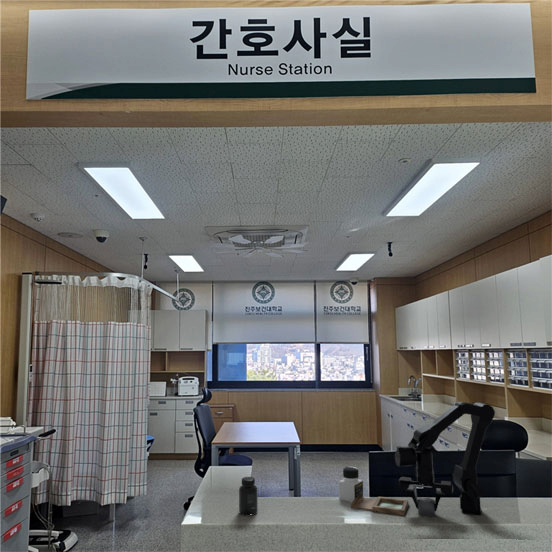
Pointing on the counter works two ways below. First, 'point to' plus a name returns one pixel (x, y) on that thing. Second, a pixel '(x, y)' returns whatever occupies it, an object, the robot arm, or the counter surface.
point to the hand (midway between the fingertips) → (426, 509)
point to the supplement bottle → (248, 496)
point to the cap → (426, 507)
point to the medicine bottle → (350, 485)
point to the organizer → (381, 505)
